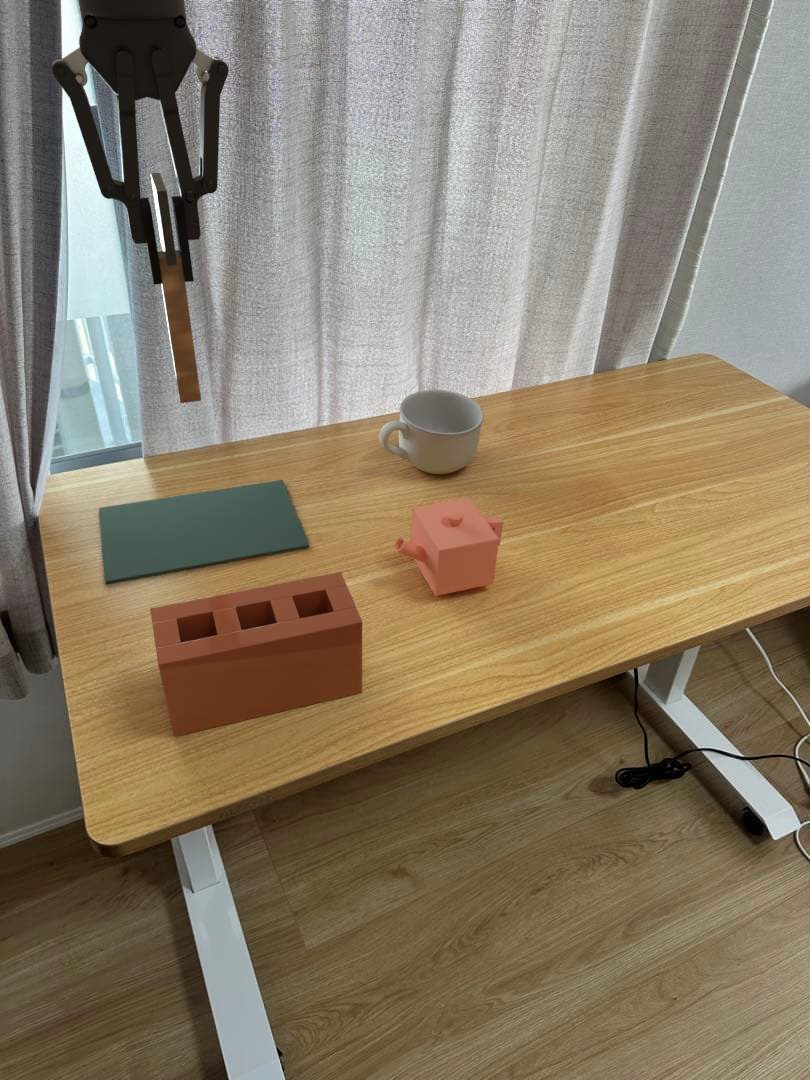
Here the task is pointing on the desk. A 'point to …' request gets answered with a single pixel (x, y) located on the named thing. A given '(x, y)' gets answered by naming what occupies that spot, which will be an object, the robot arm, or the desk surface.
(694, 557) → the desk surface
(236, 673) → the holder
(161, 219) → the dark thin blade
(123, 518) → the mat
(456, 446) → the teacup
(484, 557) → the pink cube teapot
